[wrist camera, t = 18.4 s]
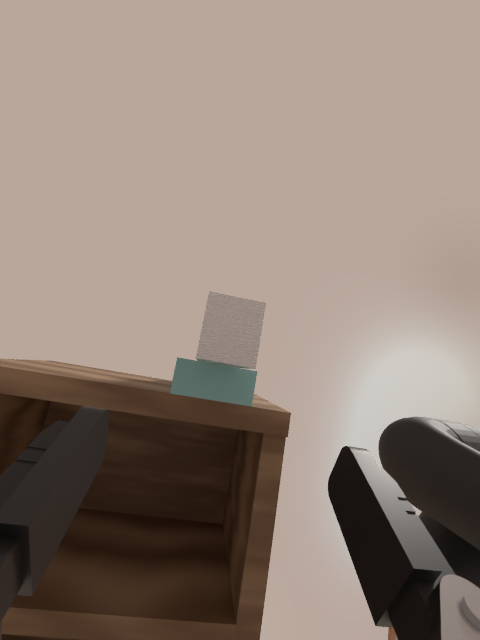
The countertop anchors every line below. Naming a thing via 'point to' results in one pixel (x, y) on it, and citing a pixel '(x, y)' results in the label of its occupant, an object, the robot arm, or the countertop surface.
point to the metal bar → (231, 331)
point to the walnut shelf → (151, 509)
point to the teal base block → (213, 382)
